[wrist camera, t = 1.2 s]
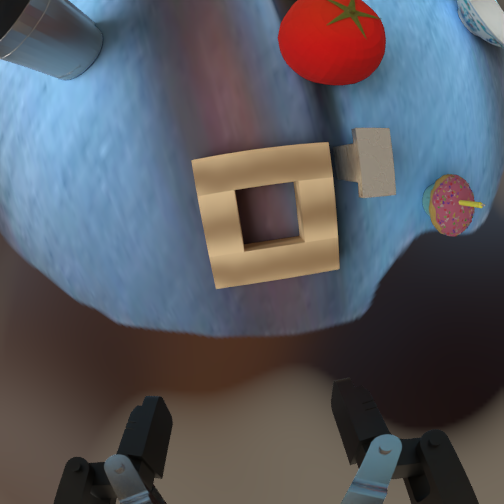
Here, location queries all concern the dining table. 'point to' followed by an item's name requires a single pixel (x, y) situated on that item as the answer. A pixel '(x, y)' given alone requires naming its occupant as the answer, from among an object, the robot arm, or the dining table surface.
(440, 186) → the cupcake
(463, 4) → the chinaware
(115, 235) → the dining table surface
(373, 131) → the grey stepped wood block
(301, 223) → the well block
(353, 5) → the tomato
